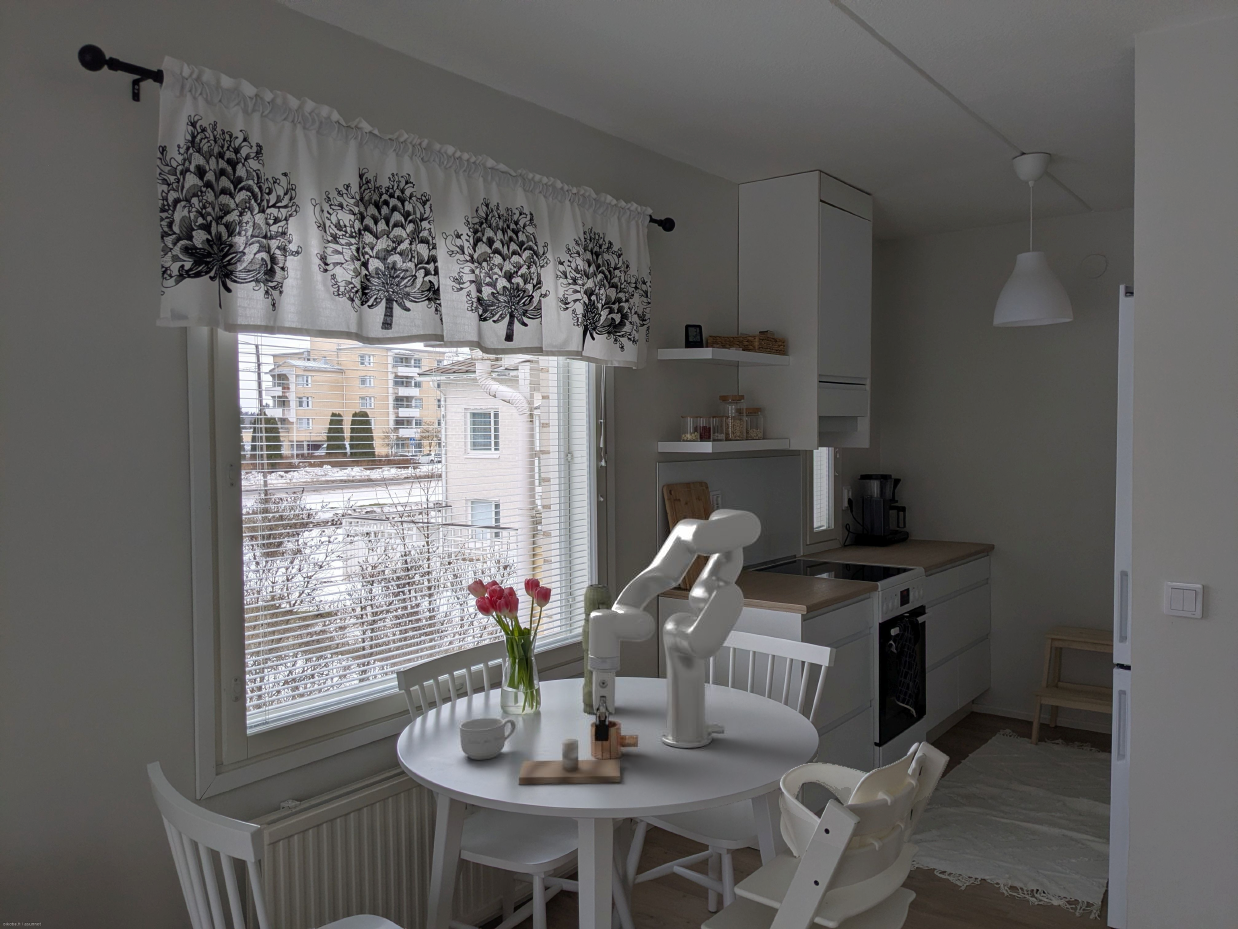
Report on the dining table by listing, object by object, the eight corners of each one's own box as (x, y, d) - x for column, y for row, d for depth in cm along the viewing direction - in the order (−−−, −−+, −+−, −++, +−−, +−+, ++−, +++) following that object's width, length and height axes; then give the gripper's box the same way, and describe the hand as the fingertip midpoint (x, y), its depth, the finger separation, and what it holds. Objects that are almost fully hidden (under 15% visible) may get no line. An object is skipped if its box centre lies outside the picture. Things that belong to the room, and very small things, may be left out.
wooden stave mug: (591, 749, 209) (591, 720, 209) (637, 748, 209) (637, 719, 209) (590, 759, 202) (590, 729, 202) (638, 758, 202) (638, 729, 202)
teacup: (465, 766, 198) (465, 732, 198) (455, 752, 208) (454, 719, 208) (523, 757, 204) (523, 724, 204) (510, 743, 214) (510, 711, 214)
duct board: (619, 766, 198) (618, 733, 198) (620, 782, 188) (619, 748, 188) (523, 767, 197) (522, 735, 197) (518, 784, 187) (518, 750, 187)
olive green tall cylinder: (604, 703, 248) (603, 581, 247) (622, 714, 237) (620, 587, 237) (575, 707, 244) (574, 583, 244) (592, 718, 233) (591, 589, 233)
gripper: (620, 671, 197) (618, 746, 197) (619, 655, 214) (617, 724, 214) (587, 670, 196) (585, 745, 196) (588, 654, 214) (586, 723, 214)
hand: (601, 734), depth 205 cm, fingers open, 9 cm apart
